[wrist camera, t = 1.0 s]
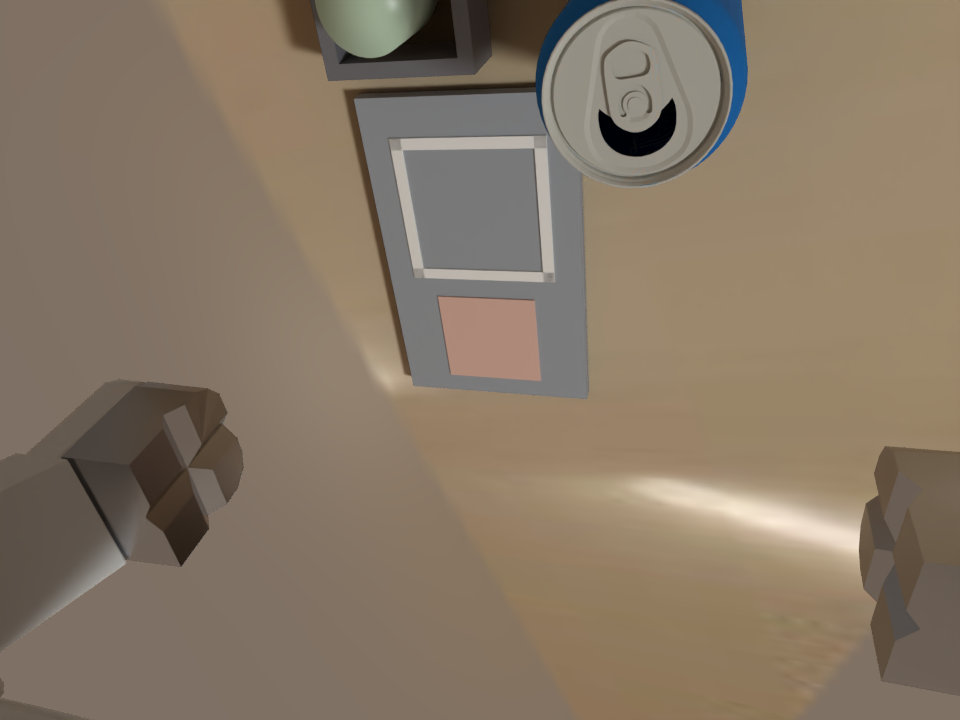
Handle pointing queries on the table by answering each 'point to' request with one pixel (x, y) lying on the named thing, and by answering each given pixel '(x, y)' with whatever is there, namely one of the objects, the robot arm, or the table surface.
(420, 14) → the button
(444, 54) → the button housing
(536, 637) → the table surface
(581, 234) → the picture board
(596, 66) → the beverage can
